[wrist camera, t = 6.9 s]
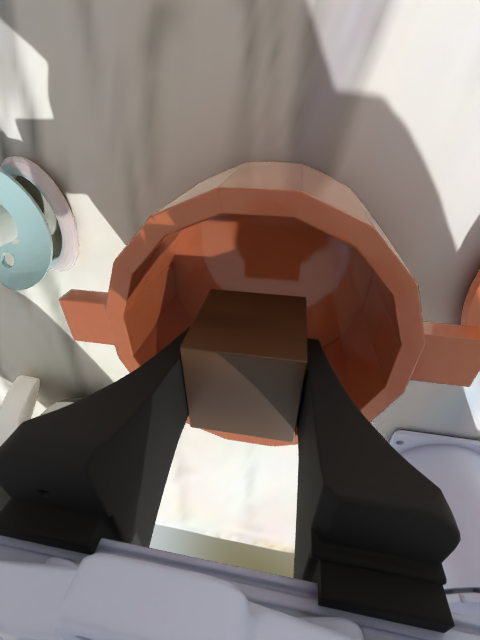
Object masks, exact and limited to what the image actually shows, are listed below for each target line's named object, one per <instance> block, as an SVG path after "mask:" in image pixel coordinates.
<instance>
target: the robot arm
mask: <svg viewBox="0 0 480 640" xmlns="http://www.w3.org/2000/svg"><path fill="white" fill-rule="evenodd" d="M190 327H191V326H190ZM190 327H188V328H187V329H186V330H185V331H184V332H182V333H181V334H180V335H179V336H178V337H177V338H175V339H174V340H173V341H172V342H171V343H170V344H168V345H167V346H166V347H165V348H163V349H162V350H161V351H160V352H159V353H157V354H156V355H155V356H153V357H152V358H151V359H149V360H148V361H147V362H145V363H144V364H143V365H141V366H140V367H138V368H137V369H136V370H134V371H133V372H131V373H129V374H128V375H126V376H125V377H123V378H121V379H120V380H118V381H116V382H115V383H113V384H111V385H109V386H107V387H105V388H103V389H101V390H99V391H97V392H96V393H94V394H92V395H90V396H88V397H85V398H83V399H81V400H79V401H77V402H74V403H72V404H70V405H67V406H65V407H62V408H60V409H57V410H55V411H52V412H49V413H47V414H44V415H41V416H38V417H35V418H33V419H30V420H27V421H24V422H22V423H21V424H20V425H19V426H18V428H17V429H16V430H15V431H14V432H13V433H12V434H11V435H10V436H9V437H8V439H7V440H6V441H5V442H4V443H3V444H2V445H1V446H0V485H1V486H2V488H3V489H4V490H5V491H6V492H7V494H8V495H9V496H10V497H11V499H10V500H9V501H8V503H7V504H6V505H5V507H4V508H3V509H2V511H1V512H0V640H480V441H477V440H470V439H463V438H456V437H448V436H441V435H434V434H427V433H420V432H412V431H405V430H397V431H395V432H394V433H393V436H392V438H391V440H390V442H389V443H388V442H387V441H386V440H385V439H384V438H383V436H382V435H381V434H380V433H379V432H378V431H377V430H376V429H375V428H374V427H373V426H372V425H371V423H370V422H369V421H368V420H367V419H366V417H365V416H364V415H363V414H362V412H361V411H360V410H359V409H358V407H357V406H356V405H355V403H354V402H353V401H352V399H351V398H350V396H349V395H348V393H347V392H346V390H345V389H344V387H343V386H342V384H341V382H340V381H339V379H338V377H337V376H336V374H335V372H334V370H333V369H332V367H331V365H330V363H329V361H328V359H327V357H326V355H325V353H324V350H323V348H322V346H321V343H320V341H319V340H318V339H309V338H307V368H306V374H305V380H304V386H303V392H302V398H301V404H300V410H299V416H298V422H297V433H298V450H299V466H298V493H297V517H296V539H295V558H294V578H290V577H285V576H280V575H275V574H271V573H266V572H261V571H257V570H252V569H247V568H242V567H238V566H233V565H228V564H223V563H219V562H214V561H209V560H204V559H200V558H195V557H190V556H186V555H181V554H176V553H171V552H167V551H162V550H157V549H152V548H149V545H150V541H151V537H152V533H153V529H154V525H155V521H156V517H157V513H158V510H159V506H160V502H161V498H162V495H163V491H164V487H165V484H166V480H167V477H168V473H169V470H170V467H171V463H172V460H173V457H174V453H175V450H176V447H177V444H178V441H179V438H180V435H181V433H182V430H183V428H184V425H185V423H186V421H187V418H188V416H189V412H188V404H187V397H186V390H185V382H184V375H183V368H182V360H181V353H180V346H181V344H182V343H183V341H184V339H185V337H186V335H187V333H188V331H189V329H190Z"/></svg>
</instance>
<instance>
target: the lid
mask: <svg viewBox="0 0 480 640" xmlns="http://www.w3.org/2000/svg"><path fill="white" fill-rule="evenodd" d="M461 325H468V326H479V327H480V270H479V271H478V273H477V275H476V277H475V279H474V280H473V282H472V284H471V286H470V288H469V291H468V293H467V296H466V298H465V301H464V305H463V309H462V314H461ZM479 372H480V370H479Z"/></svg>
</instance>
